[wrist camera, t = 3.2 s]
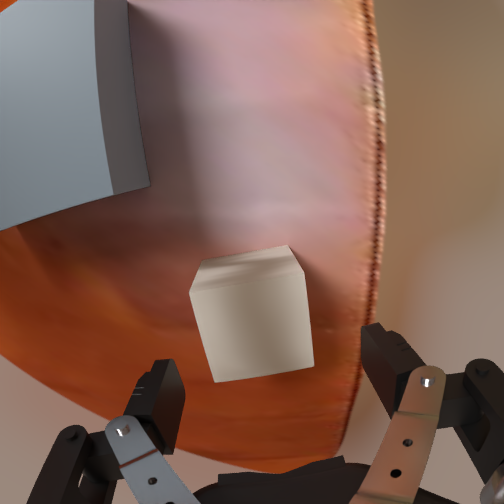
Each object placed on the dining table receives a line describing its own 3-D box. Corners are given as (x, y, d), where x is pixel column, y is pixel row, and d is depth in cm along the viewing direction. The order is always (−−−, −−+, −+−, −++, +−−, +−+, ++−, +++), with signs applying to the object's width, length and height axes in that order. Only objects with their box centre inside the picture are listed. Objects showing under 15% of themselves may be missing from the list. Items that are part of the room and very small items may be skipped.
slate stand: (15, 225, 18) (-37, 245, 13) (0, 64, 15) (-46, 50, 9) (150, 186, 18) (113, 194, 12) (127, 1, 15) (96, -41, 9)
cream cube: (220, 333, 21) (214, 382, 16) (202, 259, 20) (188, 292, 14) (297, 320, 21) (314, 366, 16) (287, 244, 20) (304, 272, 14)
